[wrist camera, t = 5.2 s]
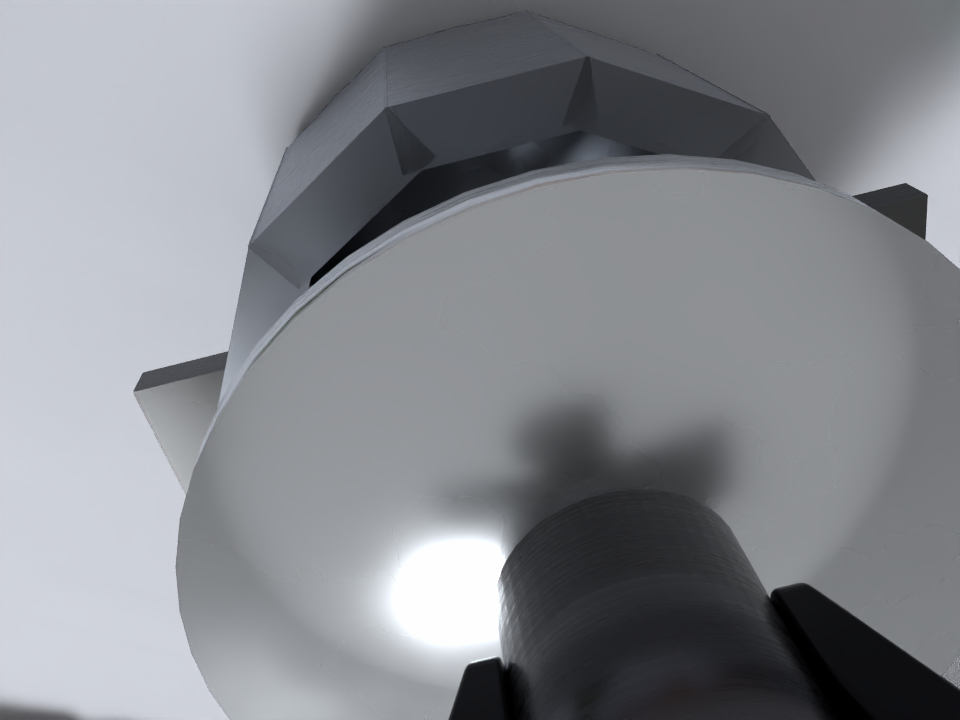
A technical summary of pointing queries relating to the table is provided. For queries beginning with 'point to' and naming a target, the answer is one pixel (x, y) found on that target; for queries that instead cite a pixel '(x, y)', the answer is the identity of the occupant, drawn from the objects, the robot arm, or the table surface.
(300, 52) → the table surface
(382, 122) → the pot
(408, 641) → the lid
